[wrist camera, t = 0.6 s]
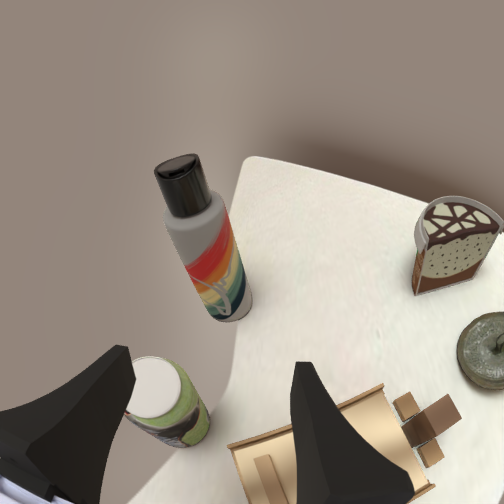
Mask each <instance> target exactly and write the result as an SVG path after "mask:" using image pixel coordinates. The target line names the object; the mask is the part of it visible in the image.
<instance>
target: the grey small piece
mask: <svg viewBox="0 0 504 504" xmlns="http://www.w3.org/2000/svg"><path fill="white" fill-rule="evenodd" d="M457 353H458V360H459V363H460V365H461V367H462V370H463V371H464V372H465V374H466V375H467V376H468V377H469V379H470V380H472V381H473V382H474V383H476V384H477V385H479V386H481V387H483V388H486V389H493V390H501V389H504V312H493V313H487V314H483V315H481V316H480V317H478V318H476V319H474V320H473V321H472V322H471V323H470V324H469V325H468V326H467V327H466V328H465V329H464V330H463V331H462V333H461V335H460V338H459V341H458V345H457Z"/></svg>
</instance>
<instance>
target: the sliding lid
mask: <svg viewBox="0 0 504 504" xmlns="http://www.w3.org/2000/svg"><path fill="white" fill-rule="evenodd" d="M341 413H342V414H343V416H344V417H345V418H346V419H347V421H348V422H349V423H350V424H351V425H352V426H353V428H354V429H355V430H356V431H357V432H358V433H359V434H360V435H361V436H362V437H363V438H364V439H365V440H366V441H367V442H368V443H369V444H370V445H372V446H373V447H374V448H375V449H376V450H377V451H378V452H379V453H381V454H382V455H383V456H385V457H386V458H387V459H389V460H390V461H391V462H393V463H394V464H396V465H398V466H399V467H401V468H402V469H404V470H406V471H407V472H408V474H409V476H410V478H411V480H412V483H413V486H414V490H415V491H416V490H417V489H419V488H421V487H422V486H424V485H425V484H427V483H428V481H427V479H426V477H425V475H424V473H423V471H422V469H421V467H420V464H419V462H418V460H417V458H416V456H415V454H414V452H413V450H412V448H411V446H410V444H409V442H408V440H407V438H406V436H405V434H404V432H403V431H402V429H401V427H400V425H399V423H398V421H397V419H396V417H395V415H394V413H393V411H392V409H391V407H390V406H389V404H388V402H387V400H386V398H385V396H384V394H383V392H381V393H379V394H377V395H375V396H373V397H371V398H370V399H368V400H366V401H363V402H361V403H359V404H357V405H355V406H353V407H351V408H349V409H347V410H345V411H342V412H341ZM234 453H235V456H236V459H237V462H238V465H239V468H240V471H241V474H242V477H243V480H244V483H245V486H246V488H247V491H248V494H249V497H250V499H251V502H252V504H296V502H297V464H296V453H295V446H294V438H293V432H292V433H289V434H286V435H283V436H281V437H278V438H275V439H272V440H269V441H266V442H263V443H260V444H257V445H254V446H250V447H247V448H244V449H240V450H237V451H234Z"/></svg>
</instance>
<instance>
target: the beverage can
mask: <svg viewBox="0 0 504 504" xmlns="http://www.w3.org/2000/svg"><path fill="white" fill-rule="evenodd" d="M132 365H133V369H134V372H135V376H136V382H135V386H134V390H133V393H132V396H131V399H130V401H129V404H128V406H127V408H126V411H125V413H124V415H125V416H126V417H127V419H128V420H129V421H131V422H132V423H133V424H135V425H136V426H138V427H139V428H141V429H142V430H144V431H146V432H147V433H149V434H151V435H152V436H154V437H155V438H157V439H159V440H160V441H162V442H164V443H166V444H168V445H170V446H173V447H179V448H183V447H189V446H192V445H195V444H196V443H198V442H199V441H200V440H202V439H203V437H204V436H205V435H206V433H207V431H208V428H209V422H210V419H209V414H208V411H207V409H206V407H205V405H204V403H203V402H202V400H201V398H200V397H199V395H198V393H197V391H196V389H195V388H194V386H193V384H192V382H191V380H190V379H189V377H188V375H187V373H186V372H185V371H184V370H183V369H182V368H181V367H180V366H179V365H178V364H176V363H175V362H173V361H171V360H168V359H165V358H161V357H152V356H147V357H141V358H138V359H136V360H134V361H132Z"/></svg>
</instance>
